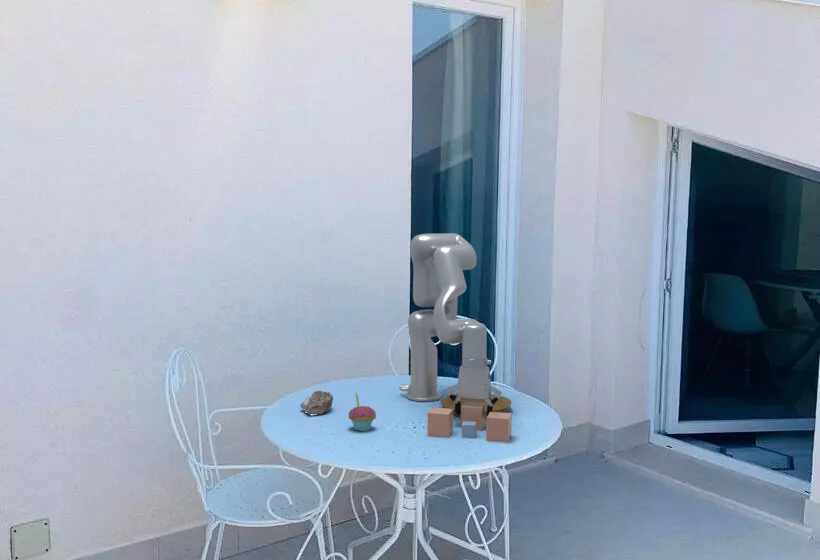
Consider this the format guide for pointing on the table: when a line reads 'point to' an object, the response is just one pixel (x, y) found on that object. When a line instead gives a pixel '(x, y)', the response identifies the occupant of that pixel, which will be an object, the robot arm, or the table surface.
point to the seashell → (317, 402)
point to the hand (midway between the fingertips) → (473, 416)
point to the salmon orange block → (498, 426)
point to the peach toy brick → (440, 422)
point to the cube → (468, 429)
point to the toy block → (474, 413)
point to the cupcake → (362, 416)
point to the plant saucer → (499, 406)
